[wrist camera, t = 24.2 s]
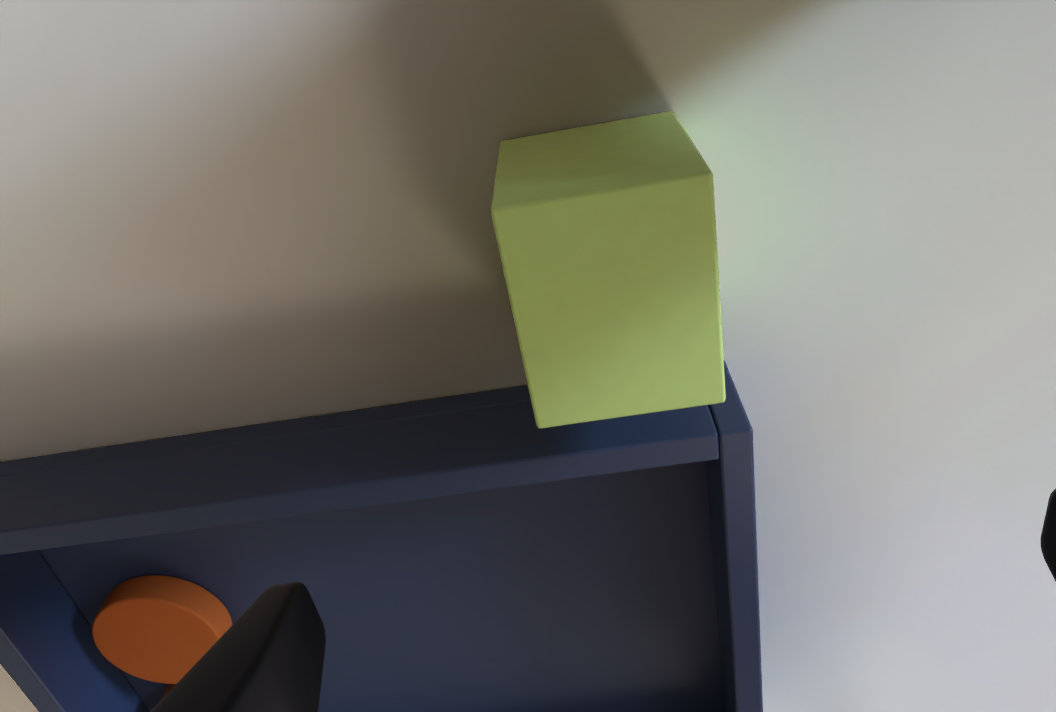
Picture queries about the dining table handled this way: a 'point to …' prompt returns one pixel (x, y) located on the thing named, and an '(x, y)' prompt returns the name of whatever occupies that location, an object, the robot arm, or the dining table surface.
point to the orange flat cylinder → (158, 626)
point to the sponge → (611, 269)
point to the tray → (414, 554)
